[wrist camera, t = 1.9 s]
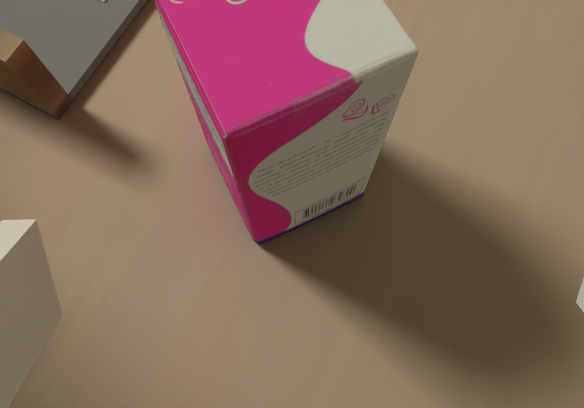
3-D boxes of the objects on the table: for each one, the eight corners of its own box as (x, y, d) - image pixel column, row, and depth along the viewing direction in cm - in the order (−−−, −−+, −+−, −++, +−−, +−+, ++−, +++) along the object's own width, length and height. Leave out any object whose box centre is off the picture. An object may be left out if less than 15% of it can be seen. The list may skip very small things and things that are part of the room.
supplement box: (309, 96, 26) (328, -102, 15) (365, 196, 24) (433, 59, 13) (203, 142, 25) (140, -32, 14) (254, 249, 23) (228, 148, 12)
